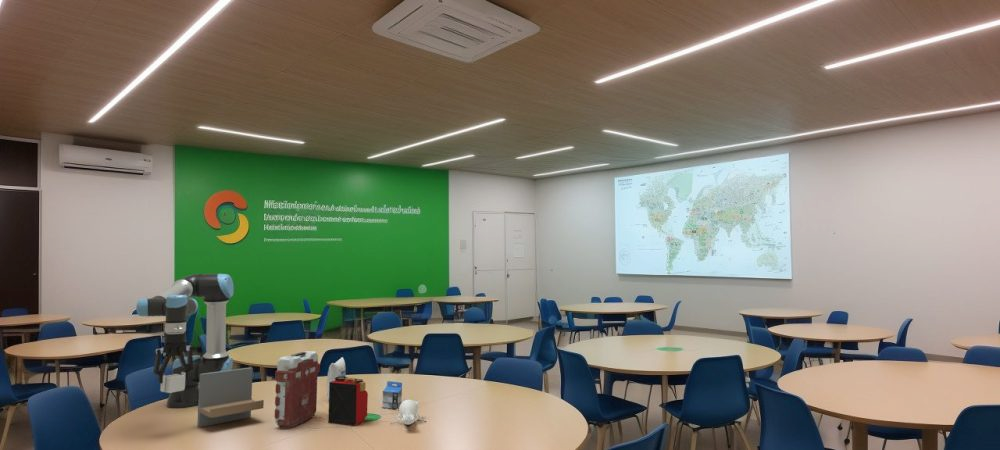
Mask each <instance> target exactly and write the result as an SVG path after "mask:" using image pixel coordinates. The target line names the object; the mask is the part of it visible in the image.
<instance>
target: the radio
mask: <svg viewBox="0 0 1000 450" xmlns="http://www.w3.org/2000/svg"><path fill="white" fill-rule="evenodd" d="M368 396H369V394H368V391H367V390H366V382H365V381H364V379H362V378H354V377H348V376H345V377H344V376H342V377H336V378H335V381H331V382H329V400H328V420H327V421H328V423H329V424H339V425H345V426H346V425H348V426H359V425H360V423H363V422H365V421H366V418H367V416H368V398H369V397H368Z"/></svg>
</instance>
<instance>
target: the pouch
mask: <svg viewBox="0 0 1000 450" xmlns="http://www.w3.org/2000/svg"><path fill="white" fill-rule="evenodd" d="M345 361H346V360H345V359H344V357H343V356H342V357H340V359H338V360H337V361H335V363H334V362H332V363H331V364H330V365H329V367H328V370H327V378H326V379H327V381H326V395H327V400H328V401H329V382H331V381H335V378H336V377H342V376H344V377H347V376H346V372H347V369H346V368H347V367H346V362H345Z"/></svg>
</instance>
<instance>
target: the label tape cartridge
mask: <svg viewBox="0 0 1000 450" xmlns="http://www.w3.org/2000/svg"><path fill="white" fill-rule="evenodd" d="M402 394H403V382H402V381H401V382H398V381H390V380H387V381H386V386H385V388H384V389H383V391H382V405H381V407H382V409H386V408H390V409H389V410H395V409H399V407H400V405H401V403H402V402H403V401H402V400H403V399H402V398H403V395H402Z"/></svg>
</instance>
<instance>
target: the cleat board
mask: <svg viewBox="0 0 1000 450" xmlns="http://www.w3.org/2000/svg"><path fill="white" fill-rule="evenodd" d="M253 369H254V368H253V367H252V366H251V367H243V368H237V369H236V368H235V369H232V370H227V371H219V372H211V373H203V374H200V379H199V400H198V405H197V422H196V423H197V428H198V427H199V428H202V426H203V427H206V426H207V427H208V426H212V425H217V424H222V423H223V424H224V423H227V422H233V421H237V420H239V421H240V420H244V419H249V418H251V417H252V411H256V410H261V409H264V407H265V406H264V401H265V400H264V399H260V400H255V399H252V395H253V394H252V393H253V374H254V373H253V371H254V370H253Z"/></svg>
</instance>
